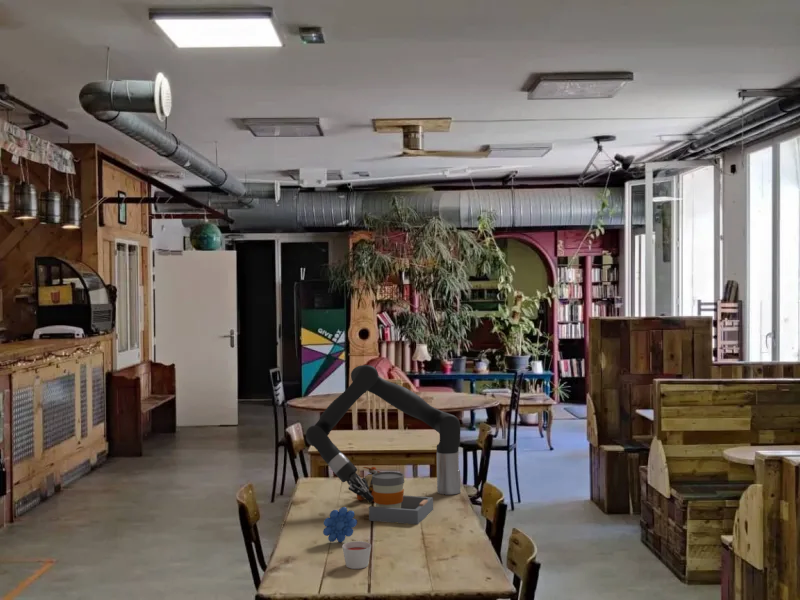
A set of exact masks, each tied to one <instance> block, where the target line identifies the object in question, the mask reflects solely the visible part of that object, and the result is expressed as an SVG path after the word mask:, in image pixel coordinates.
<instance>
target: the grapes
mask: <svg viewBox="0 0 800 600" xmlns="http://www.w3.org/2000/svg"><path fill="white" fill-rule="evenodd" d="M354 517H355V511H354V510H348V509H347V507H345V506H342V507H340V508H339V509H332V510H331V511H330V513H329V517H326V518H325V519H324V520H323V525H324V528H323V531H322V534H323V535H324V536H325V537H327V536H328V537H327V539H328V541H329V543H330V542H331V543H334V542H335V541H336V540H337V542H338V543H343V542H344V541H345V540H346V537H351V536H352V535H353V534H354V528H355V527H356V526H357V525H358V520H357V519H356V518H354Z"/></svg>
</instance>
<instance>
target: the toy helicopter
mask: <svg viewBox="0 0 800 600" xmlns="http://www.w3.org/2000/svg"><path fill="white" fill-rule="evenodd" d="M362 468H364V469H367V470H368V473H369V474H366V475H365V477H364V478H365V479H366V482H367V484H368V486H369V489H368V490H369V491H368V492H369V493H370V494H371V495H372V496H373V484H372V475H373V474H375V473H379V472H381V470H377V468H376V467H375V466H371V467H368V466H367V467H366V466H363V467H362ZM356 498H357V499H356V500H358V501H362V502H363V501H364V499H366V498H365V497H364V496H362V495H360V496H359V495H357V494H356ZM372 502H374V500H373V501H372ZM374 503H375V502H374Z"/></svg>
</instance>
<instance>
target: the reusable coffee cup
mask: <svg viewBox="0 0 800 600" xmlns="http://www.w3.org/2000/svg"><path fill="white" fill-rule="evenodd" d="M372 484H373V497H374V503H375V507H389V508H401V502H402V501H403V495H404V491H405V489H404V484H405V476H404V473H402V472H399V471H380V472H379V473H375V474H373V475H372Z"/></svg>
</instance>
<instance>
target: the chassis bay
mask: <svg viewBox="0 0 800 600" xmlns="http://www.w3.org/2000/svg"><path fill="white" fill-rule="evenodd" d="M432 510H433V511H434V497H431V496H419V495H417V496H416V495H404V494H403V501H402V502H401V508H389V507H376V505H375V506H373V505H372V506H369V507H368V520H369V521H370V522H371V521H372V522H383V523H384V522H385V523H394V522H398V524H406V523H408V524H409V525H410V524H411V525H419V524H420V523H421V522H423V520H425V519H426V518H427V515H428V514H429V513H430V512H431V511H432ZM433 511H432V512H433ZM432 512H431V513H432ZM431 513H430V514H431ZM430 514H429V515H430ZM429 515H428V516H429Z"/></svg>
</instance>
